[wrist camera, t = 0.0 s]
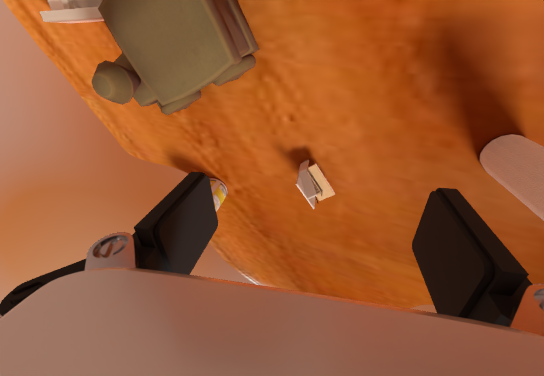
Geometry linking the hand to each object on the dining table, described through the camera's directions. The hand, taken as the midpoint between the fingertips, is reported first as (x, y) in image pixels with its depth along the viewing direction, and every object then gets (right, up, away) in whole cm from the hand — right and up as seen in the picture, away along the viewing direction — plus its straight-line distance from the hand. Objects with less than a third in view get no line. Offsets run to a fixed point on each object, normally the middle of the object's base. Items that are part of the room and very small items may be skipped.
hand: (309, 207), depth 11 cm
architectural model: (+6, +4, +35) cm, 35 cm away
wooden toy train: (-13, +22, +27) cm, 37 cm away
